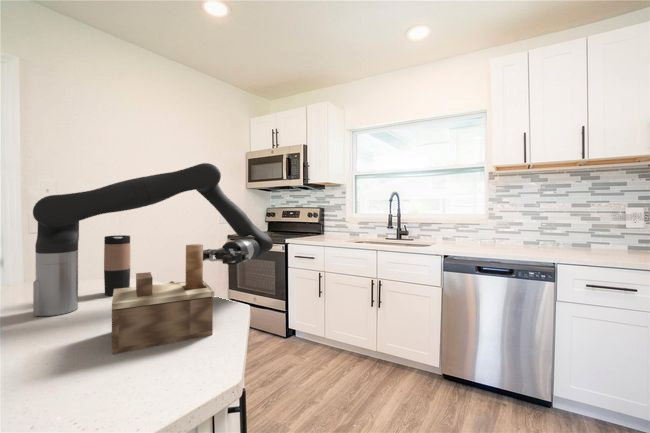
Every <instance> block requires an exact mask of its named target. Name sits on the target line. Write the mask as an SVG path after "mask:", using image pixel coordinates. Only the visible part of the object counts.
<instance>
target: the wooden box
mask: <svg viewBox="0 0 650 433" xmlns="http://www.w3.org/2000/svg"><path fill="white" fill-rule="evenodd" d="M213 311H214V296H212V297H205V298H197V299H190V300H182V301H175V302H167V303H160V304H152V305H144V306H137V307H129V308H122V309H114V310H112V309H111V355H116V354H121V353H126V352H132V351H135V350H136V351H137V350H140V349H141V350H142V349H146V348H151V347H157V346H160V345H161V346H162V345H168V344H171V343H177V342H181V341H186V340H192V339H198V338H202V337H207V336H212V335H213V331H214V330H213V325H214V324H213V323H214V322H213V315H214V312H213Z"/></svg>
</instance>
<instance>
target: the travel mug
mask: <svg viewBox="0 0 650 433" xmlns="http://www.w3.org/2000/svg"><path fill="white" fill-rule="evenodd" d="M103 239H104V242H103V243H104V244H103V245H104V249H103V252H104V253H103V273H104V274H103V275H104V276H103V280H104V283H103V284H104V295H105V296H106V297H113V292H114V289H119V288H129V287H130V286H131V285H130V284H131V283H130V282H131V235H125V234H123V235H121V234H120V235H119V234H118V235H105V236H104V238H103Z"/></svg>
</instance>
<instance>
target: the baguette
mask: <svg viewBox="0 0 650 433" xmlns="http://www.w3.org/2000/svg"><path fill="white" fill-rule="evenodd" d="M203 250H204V244H200V243H197V244H194V243H193V244H185V282H186V290H193V289H201V288H203V281H204V280H203V279H204V278H203V276H204V275H203V273H204V261H203Z"/></svg>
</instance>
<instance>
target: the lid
mask: <svg viewBox="0 0 650 433" xmlns="http://www.w3.org/2000/svg"><path fill="white" fill-rule="evenodd" d="M135 275H136V276H135V277H136V278H135V283H136V284H135V286H131V287H129V288H119V289H114V292H113V296H112V300H111V311H112V310H114V309H122V308H129V307H137V306H144V305H152V304H160V303H167V302H175V301H182V300H190V299H197V298H205V297H215V290H214V289H213V288H212V287H211V286H210V285H208V284H207V283H206V282H205V281H204V280H203V288H201V289H193V290H186V281H181V282H174V283H170V282H168V283H160V284H153V282H154V280H153V279H154V278H153V275H152V272H150V271H149V272H148V271H147V272H138V273H135Z"/></svg>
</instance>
